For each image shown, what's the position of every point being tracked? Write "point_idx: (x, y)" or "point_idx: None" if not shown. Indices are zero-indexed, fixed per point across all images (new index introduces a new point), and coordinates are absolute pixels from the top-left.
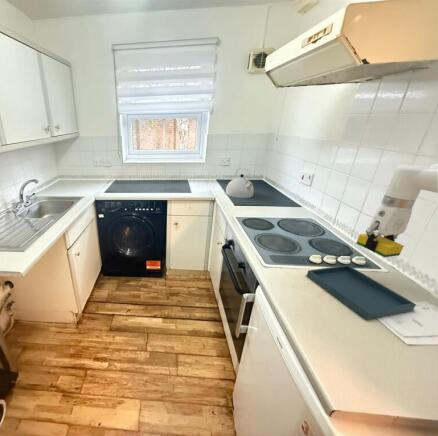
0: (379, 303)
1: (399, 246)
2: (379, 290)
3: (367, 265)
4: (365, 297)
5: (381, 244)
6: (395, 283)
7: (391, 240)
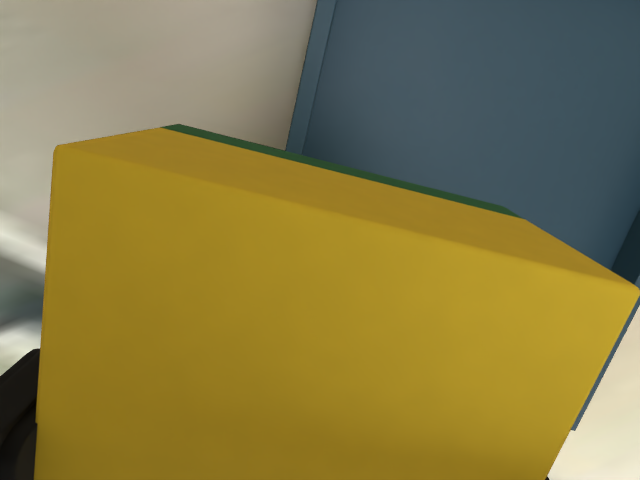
0: (498, 30)
1: (241, 188)
2: (320, 107)
3: (29, 304)
4: (506, 111)
5: (553, 446)
6: (80, 103)
7: (39, 444)
